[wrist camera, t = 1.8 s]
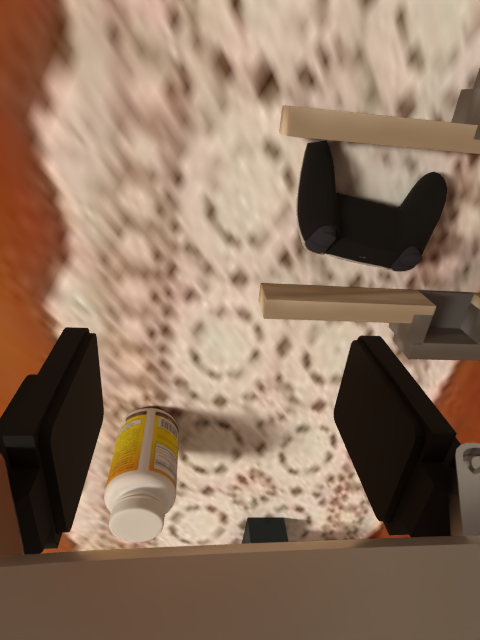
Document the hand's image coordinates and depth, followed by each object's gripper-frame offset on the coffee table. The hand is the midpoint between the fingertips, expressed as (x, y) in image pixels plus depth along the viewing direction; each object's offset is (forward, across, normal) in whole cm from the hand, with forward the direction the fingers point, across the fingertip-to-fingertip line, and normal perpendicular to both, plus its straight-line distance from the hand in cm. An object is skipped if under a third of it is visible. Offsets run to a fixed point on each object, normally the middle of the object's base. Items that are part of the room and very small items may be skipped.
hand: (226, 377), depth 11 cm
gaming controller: (+20, -11, -1) cm, 23 cm away
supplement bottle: (+20, +4, +21) cm, 29 cm away
